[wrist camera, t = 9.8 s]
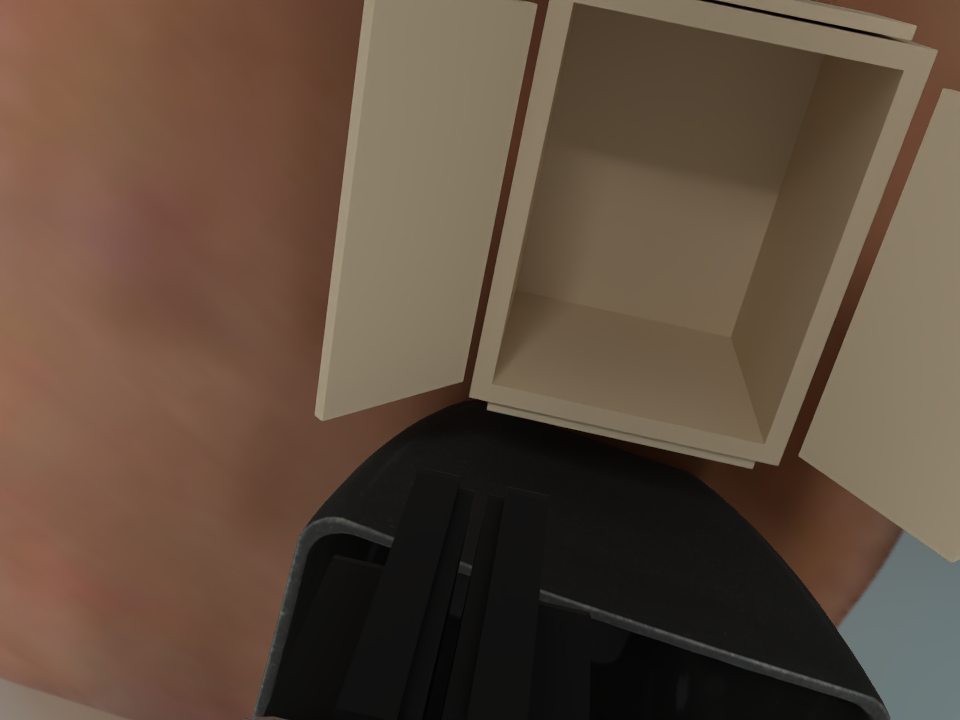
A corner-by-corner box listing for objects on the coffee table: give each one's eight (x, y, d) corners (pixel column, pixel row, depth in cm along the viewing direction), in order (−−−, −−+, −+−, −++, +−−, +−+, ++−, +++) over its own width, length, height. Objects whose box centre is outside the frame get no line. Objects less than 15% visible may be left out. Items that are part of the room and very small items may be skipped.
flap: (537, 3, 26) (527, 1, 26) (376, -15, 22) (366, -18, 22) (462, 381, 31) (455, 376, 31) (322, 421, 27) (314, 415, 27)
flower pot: (410, 308, 42) (300, 517, 27) (800, 437, 42) (910, 716, 27) (321, 613, 50) (199, 905, 35) (649, 719, 50) (668, 1054, 35)
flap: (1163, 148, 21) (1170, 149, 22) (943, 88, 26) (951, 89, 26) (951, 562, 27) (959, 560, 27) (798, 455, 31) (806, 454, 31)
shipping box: (570, -52, 35) (558, -48, 26) (856, 7, 35) (945, 31, 26) (496, 306, 41) (466, 409, 32) (736, 359, 41) (773, 477, 32)
